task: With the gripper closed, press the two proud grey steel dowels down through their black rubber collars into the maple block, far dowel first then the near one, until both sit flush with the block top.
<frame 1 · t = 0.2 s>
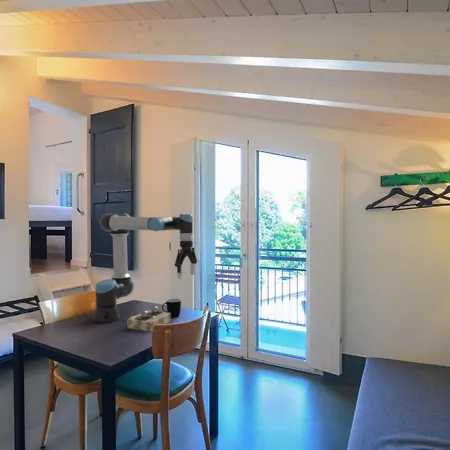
hand: (186, 276, 206), 27 cm above the table, fingers open, 13 cm apart
mug: (171, 316, 220), on the table
peg far: (154, 310, 208), point 7 cm above the table, slide at 4.0 cm
socket block: (149, 324, 204), on the table
peg near: (144, 315, 199), point 7 cm above the table, slide at 4.0 cm
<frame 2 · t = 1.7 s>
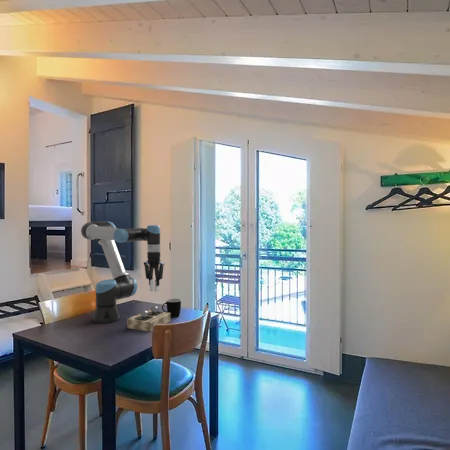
hand: (154, 290, 208), 19 cm above the table, fingers open, 3 cm apart
nothing on the table moved.
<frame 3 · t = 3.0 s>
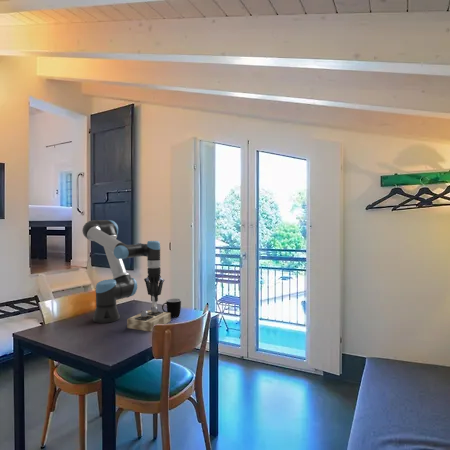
hand: (154, 306, 208), 9 cm above the table, fingers closed
peg far: (154, 311, 208), point 6 cm above the table, slide at 3.8 cm, touching gripper
everything else where it was.
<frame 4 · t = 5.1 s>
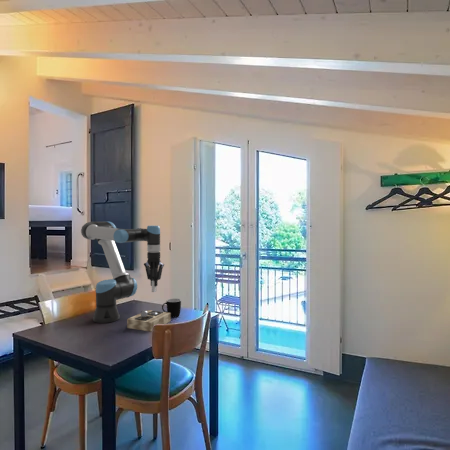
hand: (154, 291, 208), 18 cm above the table, fingers closed
peg far: (154, 316, 208), point 3 cm above the table, slide at 0.4 cm
everything else where it was.
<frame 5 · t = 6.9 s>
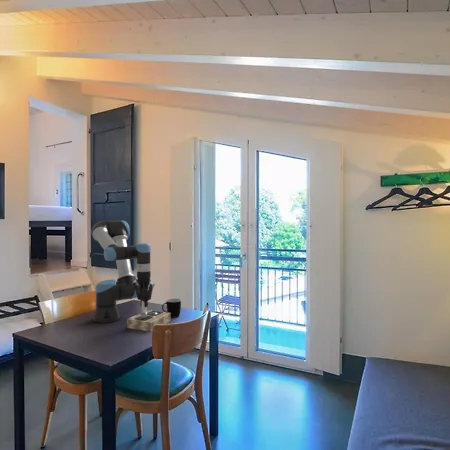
hand: (144, 312, 199), 8 cm above the table, fingers closed
peg near: (144, 316, 199), point 6 cm above the table, slide at 3.2 cm, touching gripper
everything else where it was.
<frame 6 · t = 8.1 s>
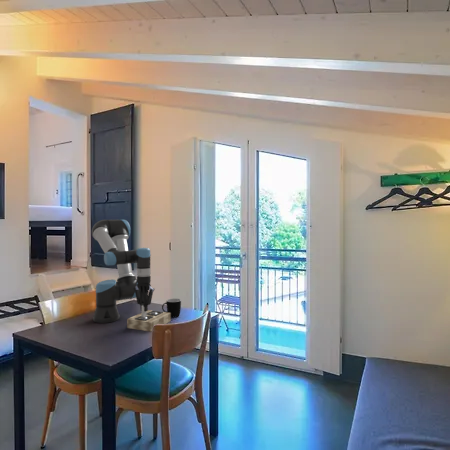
hand: (144, 316, 199), 6 cm above the table, fingers closed
peg near: (144, 321, 199), point 3 cm above the table, slide at 0.4 cm
everything else where it was.
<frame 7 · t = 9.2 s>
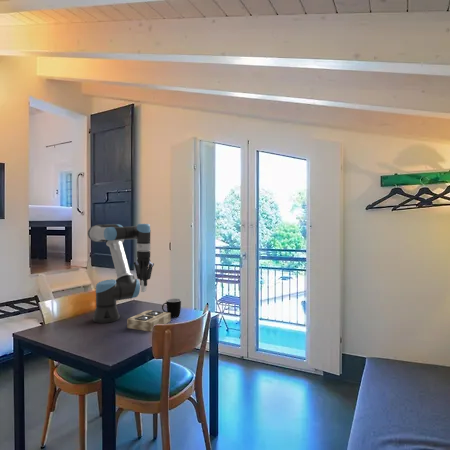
hand: (143, 291, 203), 19 cm above the table, fingers closed
nothing on the table moved.
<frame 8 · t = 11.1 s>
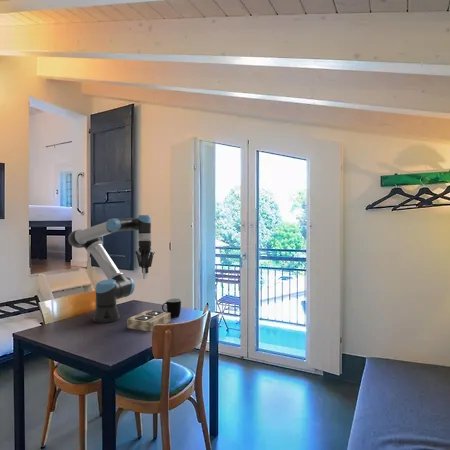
hand: (145, 278, 216), 24 cm above the table, fingers closed
nothing on the table moved.
at the end: peg far slide at 0.4 cm; peg near slide at 0.4 cm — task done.
